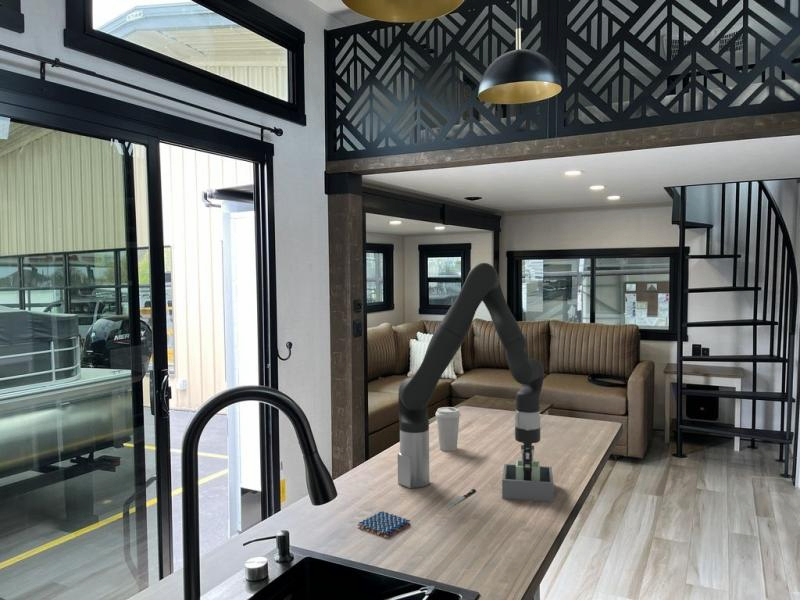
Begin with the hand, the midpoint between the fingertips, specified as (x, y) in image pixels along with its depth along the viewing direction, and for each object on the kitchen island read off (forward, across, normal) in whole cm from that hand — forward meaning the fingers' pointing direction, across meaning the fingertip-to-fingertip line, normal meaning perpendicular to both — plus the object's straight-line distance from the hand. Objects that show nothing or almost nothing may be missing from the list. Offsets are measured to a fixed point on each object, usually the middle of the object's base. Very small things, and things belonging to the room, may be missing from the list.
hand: (527, 479), depth 176 cm
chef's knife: (+4, +11, -20) cm, 24 cm away
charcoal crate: (+4, 0, 0) cm, 4 cm away
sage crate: (+1, 0, 0) cm, 1 cm away
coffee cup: (+4, -37, -30) cm, 48 cm away
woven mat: (+4, +32, -37) cm, 49 cm away
